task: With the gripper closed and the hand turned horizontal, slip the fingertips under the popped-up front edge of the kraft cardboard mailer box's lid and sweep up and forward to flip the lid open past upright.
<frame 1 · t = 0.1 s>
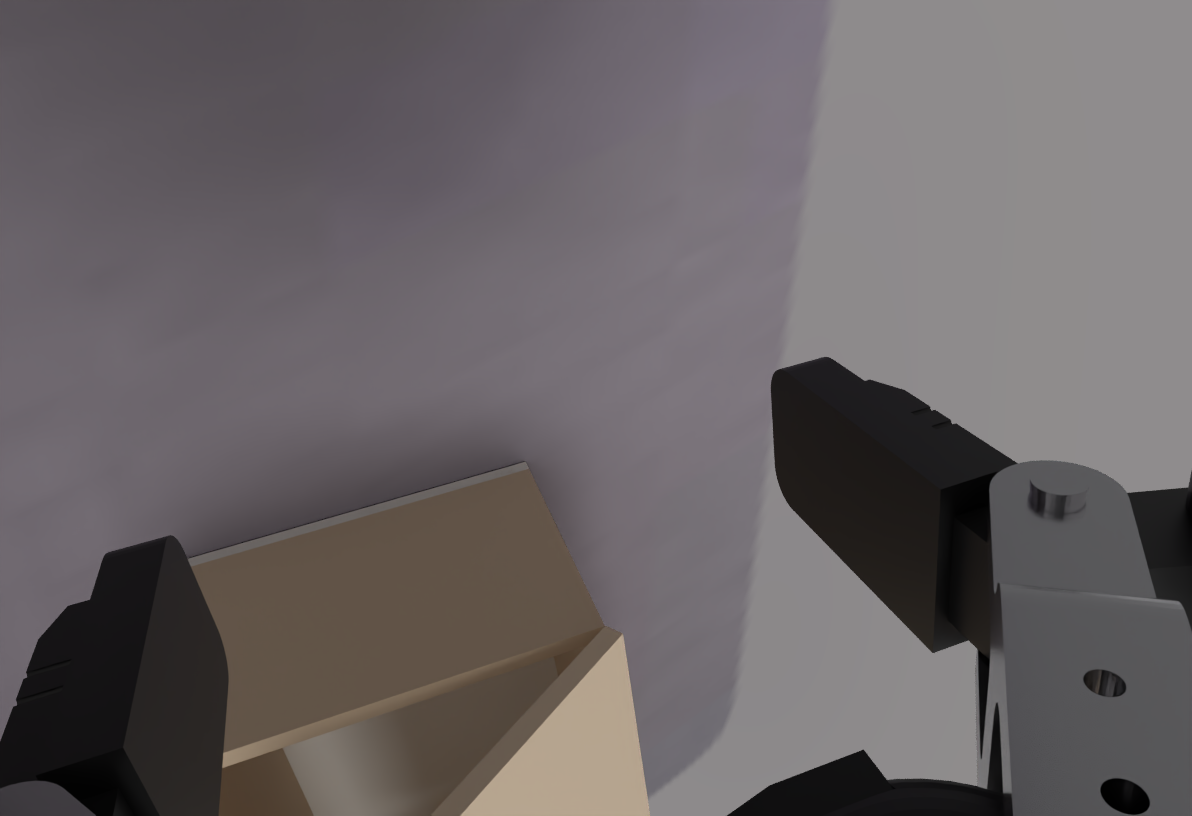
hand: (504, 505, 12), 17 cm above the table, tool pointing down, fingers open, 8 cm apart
mailer box: (415, 677, 36), on the table
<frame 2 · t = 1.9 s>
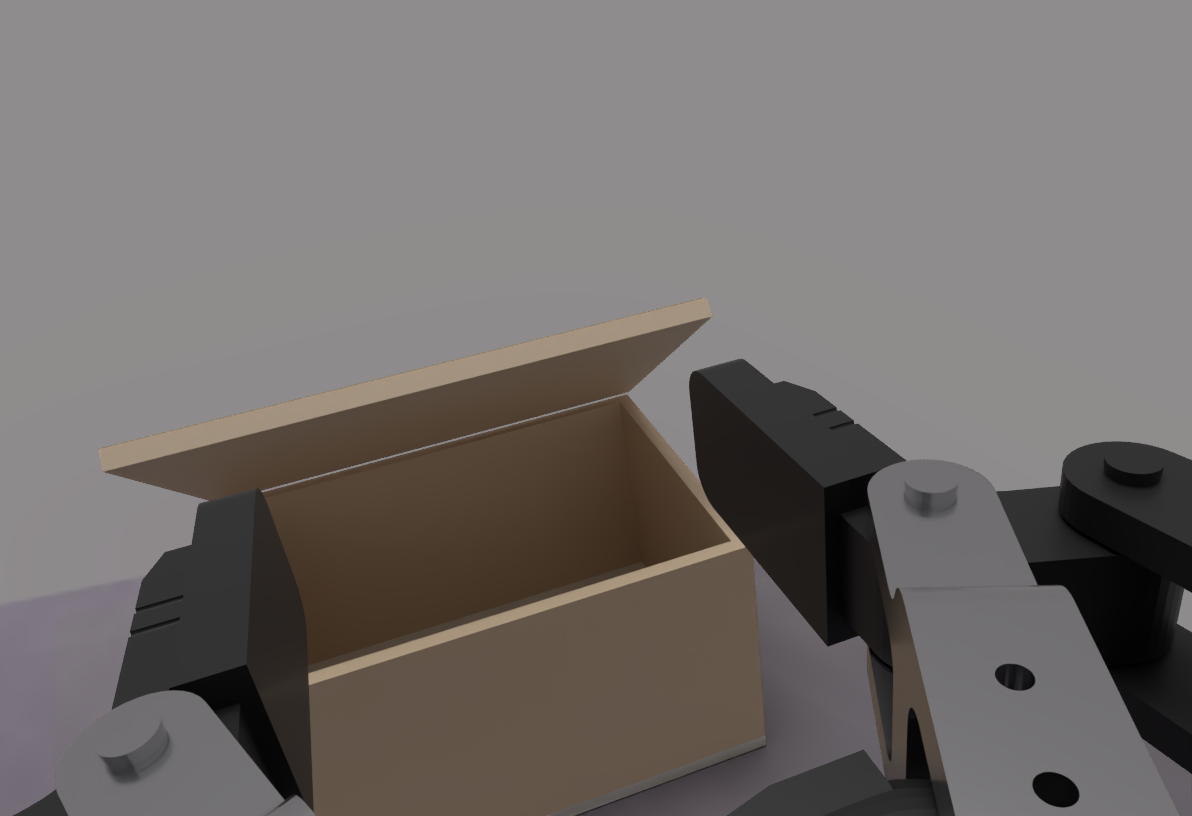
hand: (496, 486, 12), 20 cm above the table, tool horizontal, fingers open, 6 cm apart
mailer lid: (428, 412, 31), point 13 cm above the table, hinge at 35.0°
mailer box: (504, 706, 36), on the table
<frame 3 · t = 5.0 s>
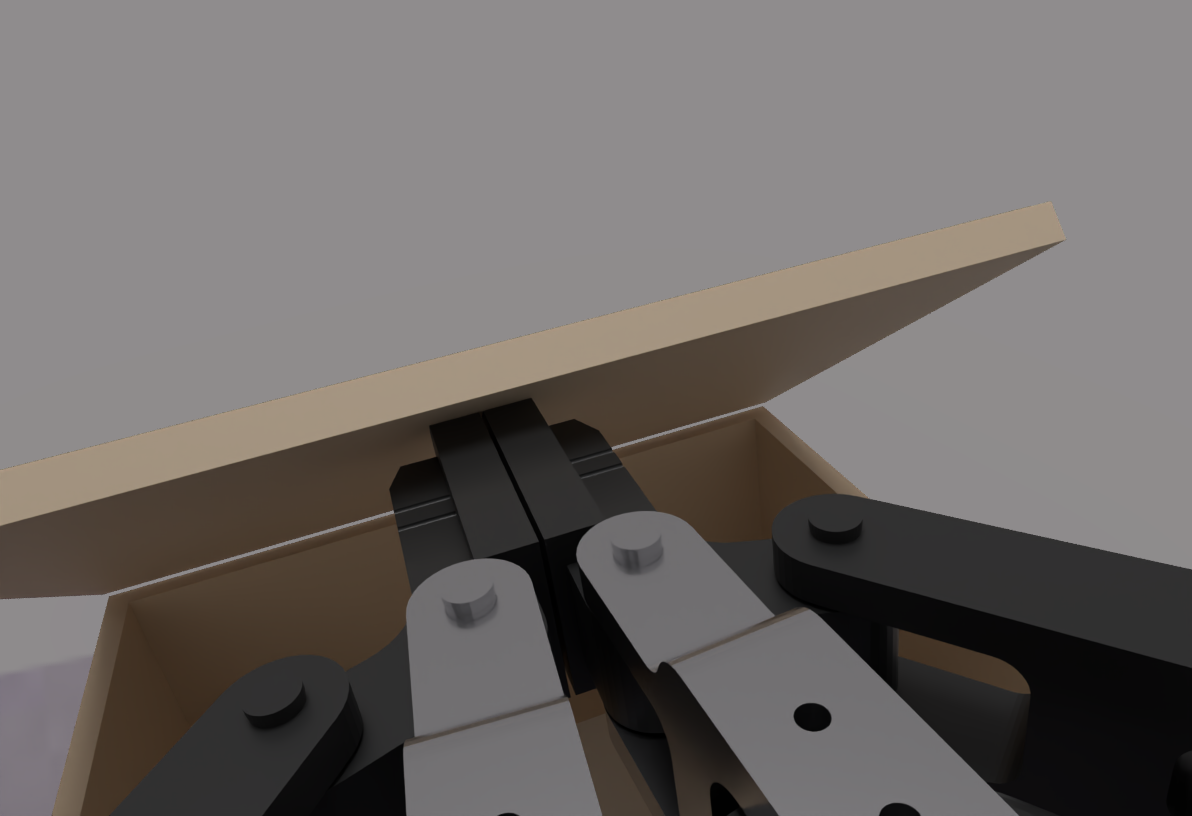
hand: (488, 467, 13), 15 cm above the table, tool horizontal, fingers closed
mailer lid: (464, 441, 17), point 13 cm above the table, hinge at 36.1°, touching gripper
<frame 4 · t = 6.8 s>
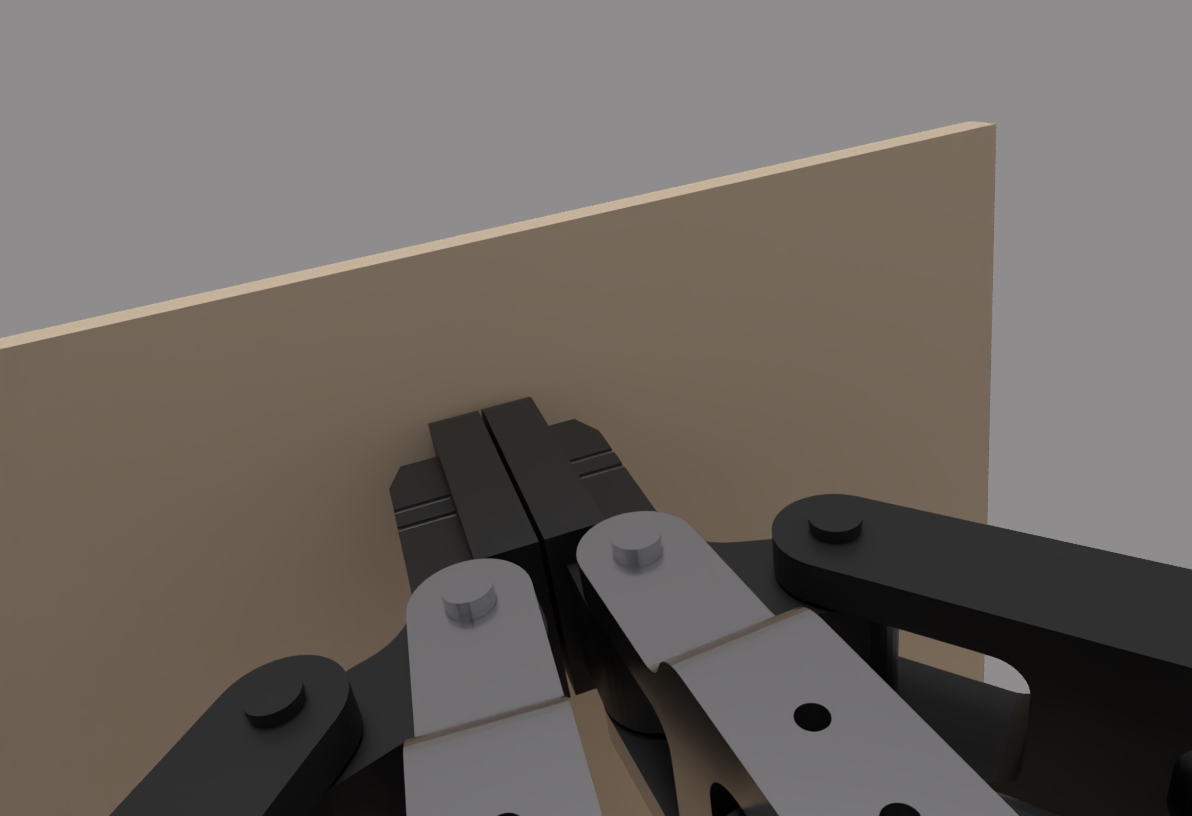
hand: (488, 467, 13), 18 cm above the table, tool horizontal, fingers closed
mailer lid: (519, 617, 14), point 15 cm above the table, hinge at 93.0°, touching gripper
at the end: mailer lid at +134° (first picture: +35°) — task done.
